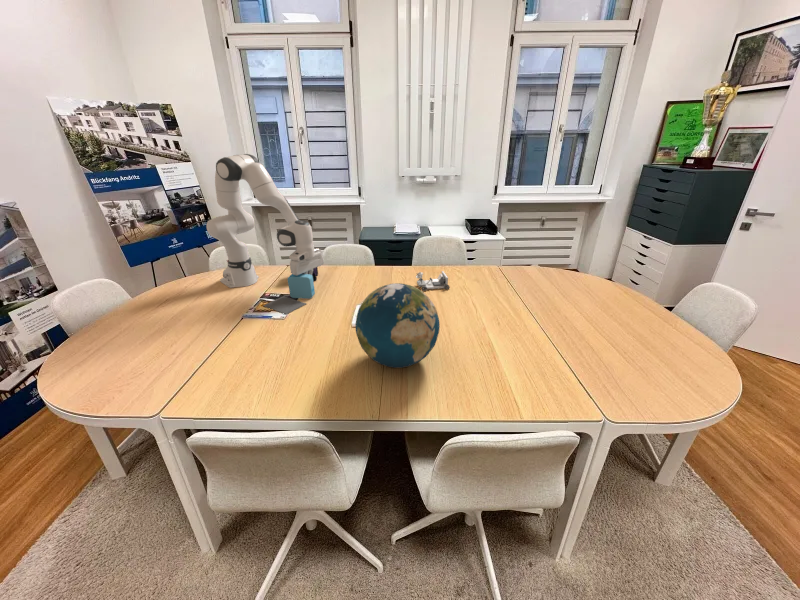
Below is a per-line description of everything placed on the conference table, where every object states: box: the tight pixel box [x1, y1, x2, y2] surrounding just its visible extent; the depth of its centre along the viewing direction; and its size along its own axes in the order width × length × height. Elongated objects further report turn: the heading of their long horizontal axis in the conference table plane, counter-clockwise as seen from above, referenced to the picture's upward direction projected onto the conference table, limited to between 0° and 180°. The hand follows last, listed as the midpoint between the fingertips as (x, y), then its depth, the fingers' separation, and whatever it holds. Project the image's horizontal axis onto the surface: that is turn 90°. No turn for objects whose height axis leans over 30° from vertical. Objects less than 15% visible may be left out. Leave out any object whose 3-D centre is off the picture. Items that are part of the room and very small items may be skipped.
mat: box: [262, 295, 307, 315], centre depth 174 cm, size 17×13×1 cm
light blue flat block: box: [287, 273, 316, 300], centre depth 180 cm, size 12×4×12 cm, turn 83°
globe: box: [355, 282, 441, 369], centre depth 124 cm, size 30×30×30 cm
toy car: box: [415, 270, 450, 292], centre depth 191 cm, size 18×10×12 cm
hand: (309, 277), depth 184 cm, fingers closed
